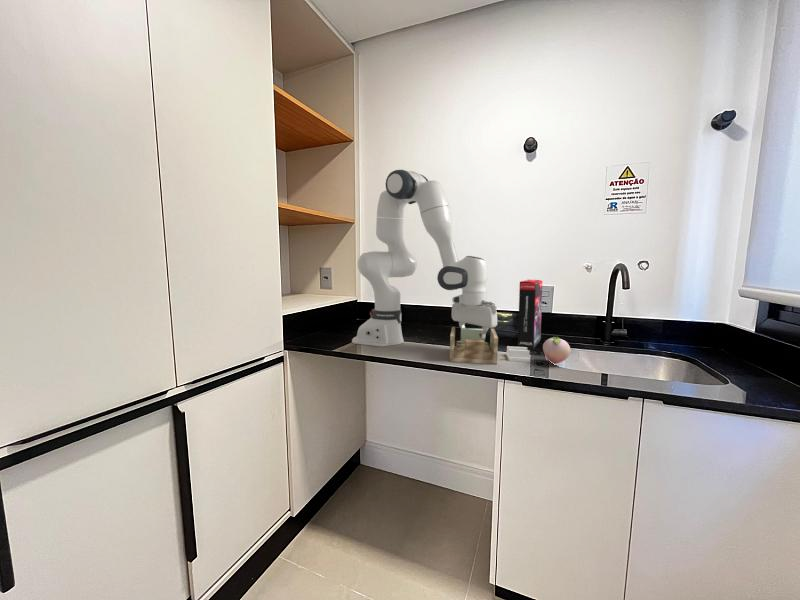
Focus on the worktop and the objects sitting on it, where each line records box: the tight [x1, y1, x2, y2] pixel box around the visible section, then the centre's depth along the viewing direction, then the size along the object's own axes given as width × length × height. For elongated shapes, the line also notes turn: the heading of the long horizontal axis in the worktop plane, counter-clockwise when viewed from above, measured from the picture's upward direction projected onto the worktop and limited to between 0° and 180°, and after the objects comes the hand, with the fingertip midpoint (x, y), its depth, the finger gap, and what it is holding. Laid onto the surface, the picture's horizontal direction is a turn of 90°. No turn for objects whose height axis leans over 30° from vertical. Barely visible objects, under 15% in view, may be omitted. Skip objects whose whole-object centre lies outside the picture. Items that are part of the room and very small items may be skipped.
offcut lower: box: [464, 348, 482, 359], centre depth 116 cm, size 6×4×3 cm, turn 79°
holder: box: [505, 345, 531, 363], centre depth 119 cm, size 7×8×4 cm
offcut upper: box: [465, 339, 484, 351], centre depth 116 cm, size 6×4×3 cm, turn 85°
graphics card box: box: [517, 279, 543, 349], centre depth 139 cm, size 17×7×27 cm, turn 149°
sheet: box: [460, 327, 486, 345], centre depth 126 cm, size 9×2×8 cm, turn 79°
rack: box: [449, 326, 499, 365], centre depth 121 cm, size 16×16×9 cm
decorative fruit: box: [542, 335, 571, 365], centre depth 113 cm, size 9×8×10 cm
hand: (472, 335), depth 125 cm, fingers open, 8 cm apart
